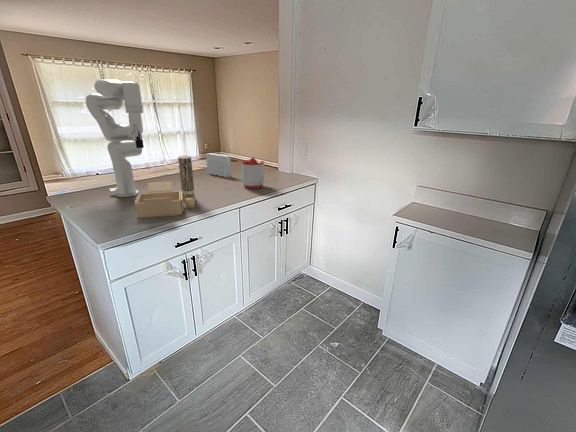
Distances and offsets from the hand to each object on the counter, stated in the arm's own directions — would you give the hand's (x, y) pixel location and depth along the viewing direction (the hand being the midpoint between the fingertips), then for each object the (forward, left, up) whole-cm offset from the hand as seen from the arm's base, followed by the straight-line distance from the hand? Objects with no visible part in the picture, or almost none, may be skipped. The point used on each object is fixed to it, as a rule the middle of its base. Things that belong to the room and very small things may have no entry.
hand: (140, 147), depth 150 cm
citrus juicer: (+64, +23, -31) cm, 75 cm away
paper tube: (+21, +5, -31) cm, 38 cm away
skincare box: (+45, +61, -31) cm, 82 cm away
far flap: (+7, -4, -23) cm, 24 cm away
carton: (+7, -12, -31) cm, 34 cm away
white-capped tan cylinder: (+22, -9, -31) cm, 39 cm away
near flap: (+7, -20, -23) cm, 31 cm away
